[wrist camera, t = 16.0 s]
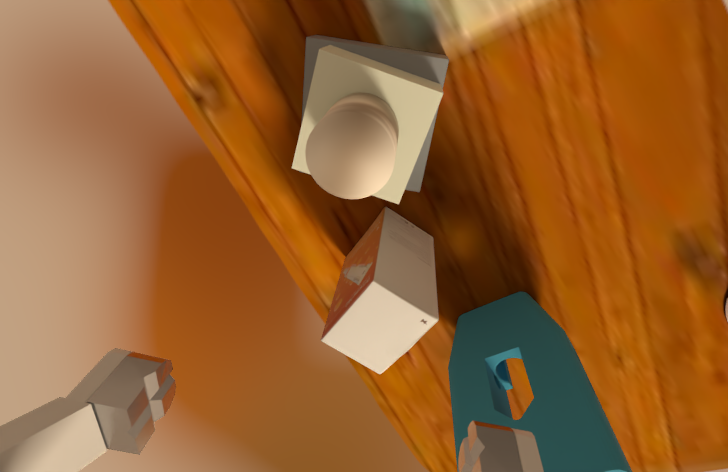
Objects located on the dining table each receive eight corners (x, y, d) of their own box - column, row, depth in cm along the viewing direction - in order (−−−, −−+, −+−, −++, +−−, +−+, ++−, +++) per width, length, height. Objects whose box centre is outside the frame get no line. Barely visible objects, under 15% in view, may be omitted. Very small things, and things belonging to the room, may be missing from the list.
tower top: (440, 84, 31) (443, 93, 27) (400, 185, 35) (398, 204, 32) (330, 44, 30) (319, 48, 27) (303, 152, 35) (291, 168, 31)
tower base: (445, 54, 33) (449, 59, 30) (419, 176, 39) (419, 192, 36) (317, 34, 34) (306, 37, 30) (309, 157, 39) (299, 171, 36)
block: (541, 282, 43) (626, 466, 26) (558, 314, 45) (649, 506, 27) (441, 322, 47) (456, 503, 30) (460, 350, 49) (485, 536, 32)
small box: (385, 203, 40) (373, 278, 29) (434, 236, 42) (442, 321, 30) (343, 257, 44) (318, 342, 33) (390, 286, 45) (381, 377, 34)
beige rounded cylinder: (413, 117, 28) (412, 141, 23) (376, 179, 31) (367, 213, 26) (344, 77, 28) (328, 94, 22) (313, 144, 30) (291, 173, 25)
